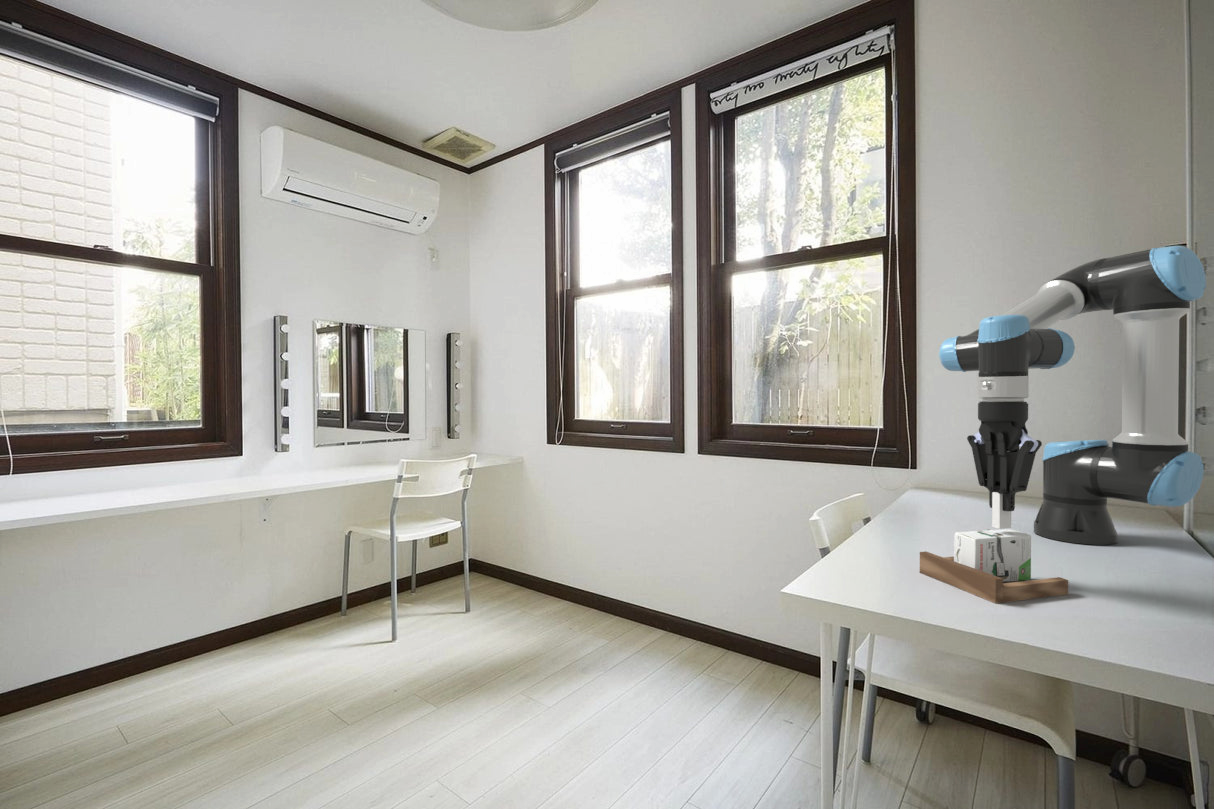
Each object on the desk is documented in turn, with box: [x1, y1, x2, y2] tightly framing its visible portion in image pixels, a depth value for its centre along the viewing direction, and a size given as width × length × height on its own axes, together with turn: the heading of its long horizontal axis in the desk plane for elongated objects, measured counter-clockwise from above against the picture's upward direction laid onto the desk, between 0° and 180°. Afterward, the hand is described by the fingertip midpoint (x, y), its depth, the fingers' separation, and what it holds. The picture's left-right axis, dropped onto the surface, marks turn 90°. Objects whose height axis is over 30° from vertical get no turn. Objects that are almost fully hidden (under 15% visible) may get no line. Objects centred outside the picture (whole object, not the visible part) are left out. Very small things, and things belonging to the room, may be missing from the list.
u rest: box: [919, 551, 1069, 604], centre depth 100 cm, size 16×16×4 cm
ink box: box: [953, 528, 1032, 582], centre depth 101 cm, size 9×5×12 cm
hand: (1001, 527), depth 101 cm, fingers closed
